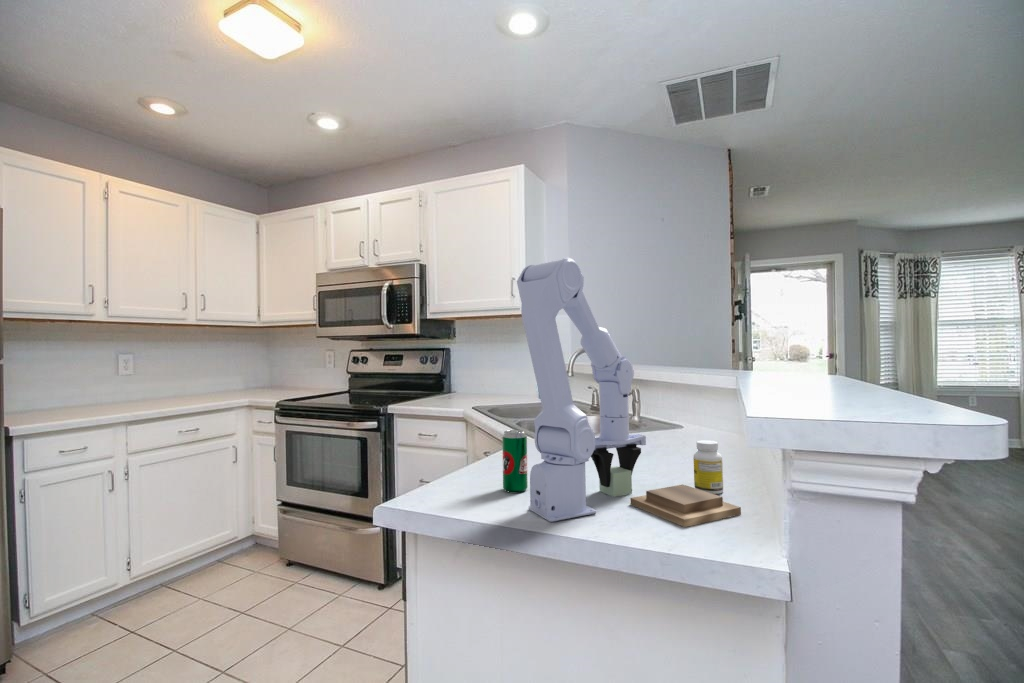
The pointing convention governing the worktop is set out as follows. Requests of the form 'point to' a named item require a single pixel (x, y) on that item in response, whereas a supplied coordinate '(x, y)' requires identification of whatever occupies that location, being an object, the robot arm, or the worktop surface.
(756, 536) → the worktop surface
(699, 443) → the supplement bottle
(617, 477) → the sage block
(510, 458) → the soda can
